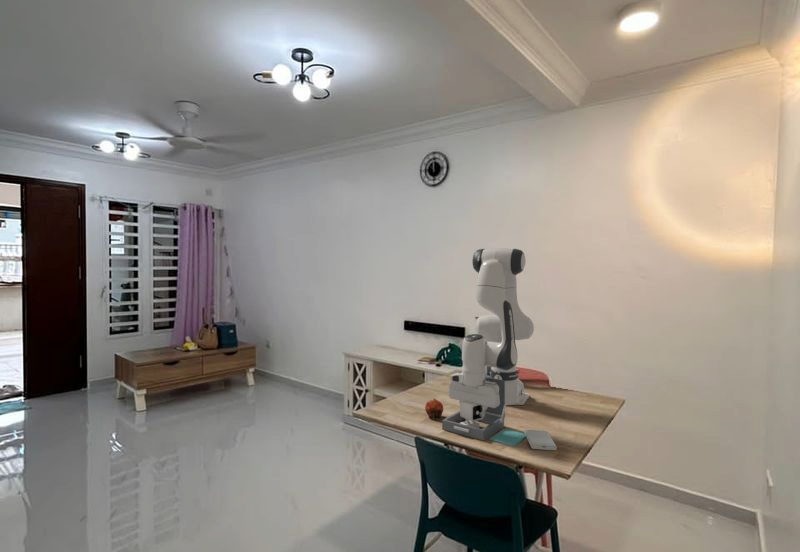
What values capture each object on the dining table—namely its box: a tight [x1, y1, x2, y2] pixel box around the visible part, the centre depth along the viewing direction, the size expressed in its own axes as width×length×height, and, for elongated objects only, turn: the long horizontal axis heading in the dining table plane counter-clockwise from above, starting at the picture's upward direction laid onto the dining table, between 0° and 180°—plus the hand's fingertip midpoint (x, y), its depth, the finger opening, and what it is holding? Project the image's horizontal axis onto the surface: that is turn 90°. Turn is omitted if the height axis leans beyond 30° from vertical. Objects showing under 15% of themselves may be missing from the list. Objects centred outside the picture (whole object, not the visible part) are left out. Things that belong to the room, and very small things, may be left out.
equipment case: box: [441, 377, 507, 442], centre depth 162 cm, size 19×18×18 cm
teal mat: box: [489, 428, 526, 447], centre depth 153 cm, size 12×9×1 cm
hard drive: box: [523, 429, 558, 451], centre depth 149 cm, size 2×8×12 cm
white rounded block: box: [459, 401, 484, 429], centre depth 163 cm, size 6×7×10 cm
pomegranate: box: [424, 398, 444, 421], centre depth 174 cm, size 7×7×10 cm
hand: (473, 414), depth 162 cm, fingers closed on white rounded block, 6 cm apart
